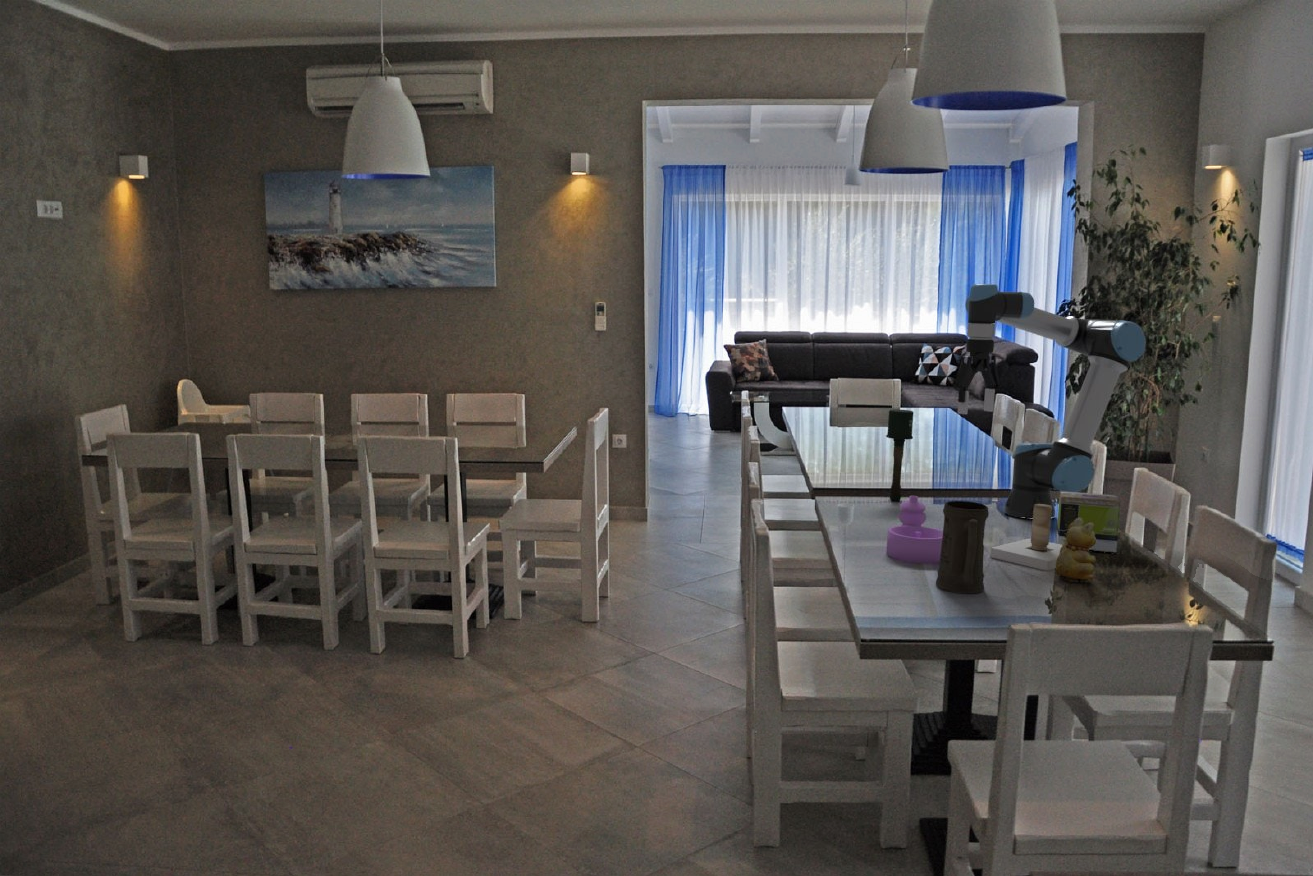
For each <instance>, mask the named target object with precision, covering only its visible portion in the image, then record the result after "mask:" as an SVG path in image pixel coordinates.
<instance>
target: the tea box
mask: <svg viewBox="0 0 1313 876" xmlns="http://www.w3.org/2000/svg"><path fill="white" fill-rule="evenodd" d="M1057 512H1058V513H1057V525H1056V544H1061V545H1063V544H1064V542H1065V540H1066V534H1067V531H1068V528H1069V525H1070V524H1071V523H1072V522H1074V520H1075V519H1077V518H1082V519H1083V526H1084V525H1086V524H1088V523H1093V524H1094V527H1093V530H1092V531H1094V533H1095V538H1096V543H1095V544H1094V546H1092V547H1091V548H1089V549H1096V550H1106V551H1113V552H1118V551H1117V550H1118V540H1119V539H1118V538H1119V529H1120V528H1119V525H1120V515H1121V501H1120V499H1119V497H1118V496H1117V495H1115V494H1103V493H1101V494H1100V493H1089V492H1064V491H1059V498H1058V511H1057Z"/></svg>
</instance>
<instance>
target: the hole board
mask: <svg viewBox="0 0 1313 876" xmlns="http://www.w3.org/2000/svg"><path fill="white" fill-rule="evenodd" d="M1031 547H1032V543H1031V537H1030V538H1026V539H1022V540H1017V541H1013V542H1008V543H1005V544H1000V545H997V546H993V547H990V552H989V553H990V554H989V557H990V558H992V559H997V560H1000V561H1005V562H1009V563H1013V564H1018V565H1022V566H1026V567H1031V568H1034V569H1039V570H1042V571H1052V570H1055V568H1056V561H1057V558H1058V556H1059V554H1060V549H1061V547H1062V545H1061V544H1057V542H1050V541H1049V545H1047V552H1044V553H1043V552H1039V551H1034V550H1031Z"/></svg>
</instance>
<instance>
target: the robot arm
mask: <svg viewBox="0 0 1313 876" xmlns="http://www.w3.org/2000/svg"><path fill="white" fill-rule="evenodd" d="M998 287H999V286H998V285H997V284H992V283H989V284H987V283H975V284H972V285H971V286H970V290H969V294H968V296H967V298H966V300H965V310H966V312H967V314H968V316H967V331H966V336H967V338H968V339H967V340H966V343H965V345H966V347H965V351H966V352H967V353H969V355H963V356H962V359H961V365H960V368H959V371H958V373H957V376H956V379H955V382H954V385H953V388H954V390H955V391H958V396H957V397H958V398H957V402H958V403H957V414H958V415H968V411H969V395H970V391H969V387H970V385H971V383H972V381H973V380H974V378H975V376H976V374H978V372H979V373H980V374H981V376H982V378H983V379H982V380H983V381H984V383H985V385H986V388H985V389H984V398H983V399H984V400H983V401H984V402H983V411H984V412H991V413H992V412H994V409H995V393H996V390H999V389H1000V386H1001V381H1000V376H999V371H998V368H997V367H998V366H997V362H996V361H997V355H994V354H991V353H993V352H994V350H995V340H994V338H995V337H996V336H995V334H996V322H998V323H1001V324H1003V325H1007V326H1010V327H1012V328H1016V329H1019V330H1022V331H1025V332H1027V333H1032V334H1035V335H1036V336H1040V337H1042V338H1046V339H1048V340H1052V341H1055V343H1056V344H1057V345H1058V346H1059V347H1063V348H1066V349H1068V350H1071V351H1073V352H1076V353H1079V354H1080V355H1083V356H1086V357H1087V360H1088V361H1089V363H1090V365H1089V367H1088V370H1087V373H1086V375H1085V377H1084V380H1083V383H1082V385H1081V388H1080V391H1079V392H1078V395H1077V398H1076V400H1075V403H1074V404H1073V406H1072V410H1071V413H1070V416H1069V418H1068V421H1067V423H1066V425H1065V427H1064V430H1063V433H1062V435H1061V437H1060V438H1058V439H1055V440H1054V441H1053V443H1050V442H1049V443H1045V442H1044V443H1040V442H1036V443H1033V442H1032V443H1029V442H1028V443H1027V442H1025V443H1024V442H1023V443H1019V444H1017V445H1016V446H1015V449H1014V450H1015V451H1014V454H1013V467H1012V468H1013V469H1012V484H1011V490H1010V493H1009V495H1008V497H1007V500H1006V502H1005V504H1004V508H1003V513H1004V514H1005V513H1006V514H1008V515H1007V516H1009V515H1011V516H1010V517H1012V516H1014V517H1013V518H1017V517H1025V518H1033V511H1034V504H1045V505H1050V506H1052V513H1051V517H1054V516H1055V517H1056V509H1055V504H1054V500H1053V496H1052V489H1053V490H1056V491H1059V492H1060V491H1064V492H1078V493H1080V492H1082V491H1084V490H1085V489H1086V488H1087V487H1088V486H1090V485H1091V483H1092V481H1093V479H1094V476H1095V473H1096V472H1095V468H1094V467H1095V465H1094V463H1093V460H1092V459H1093V455H1094V453H1093V452H1092V449H1091V446H1092V444H1093V441H1094V438H1095V437H1096V433H1097V431H1098V429H1099V426H1100V424H1101V422H1102V419H1103V416H1104V414H1105V412H1106V409H1107V407H1108V405H1109V402H1110V399H1111V397H1112V395H1113V392H1114V389H1115V387H1116V385H1117V383H1118V379H1119V378H1120V375H1121V374H1123V373H1125V372H1126V371H1128V370H1129V369H1128V368H1129V367H1130V365H1131V362H1135V361H1138V359H1140V358H1141V357H1142V355H1143V354H1144V352H1145V350H1146V345H1147V340H1146V336H1145V333H1144V330H1143V329H1142V327H1141V326H1140V325H1139V324H1138V323H1135V322H1134V321H1128V320H1124V319H1119V320H1115V319H1089V318H1086V319H1084V318H1078V317H1075V316H1070V315H1068V316H1066V317H1065V316H1062V315H1058V314H1055V313H1053V312H1049V311H1047V310H1043V309H1041V308H1038V307H1035V299H1034V297H1033V295H1032V294H1031V293H1029V292H1022V291H999V290H998V289H999V288H998ZM1006 514H1005V515H1006Z"/></svg>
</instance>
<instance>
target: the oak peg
mask: <svg viewBox="0 0 1313 876" xmlns="http://www.w3.org/2000/svg"><path fill="white" fill-rule="evenodd" d="M1051 513H1052V506H1050V505H1045V504H1034V511H1033V520H1032V522H1031V524H1032V525H1031V534H1030V535H1031V537H1030V538H1031V543H1032V547H1031V550H1034V551H1039V552H1043V553H1044V552H1047V545H1049V542H1050V534H1051V524H1052V523H1051V521H1052V519H1051Z"/></svg>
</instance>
